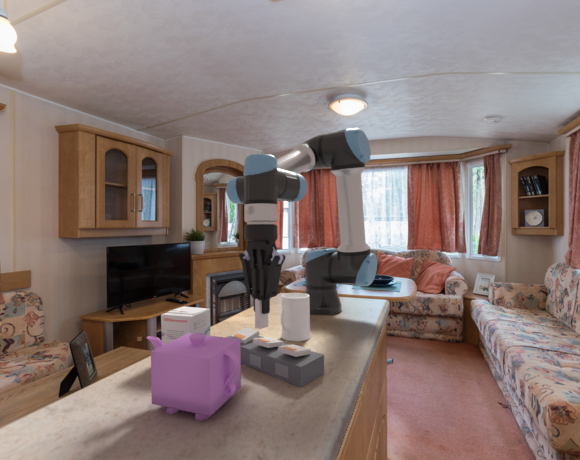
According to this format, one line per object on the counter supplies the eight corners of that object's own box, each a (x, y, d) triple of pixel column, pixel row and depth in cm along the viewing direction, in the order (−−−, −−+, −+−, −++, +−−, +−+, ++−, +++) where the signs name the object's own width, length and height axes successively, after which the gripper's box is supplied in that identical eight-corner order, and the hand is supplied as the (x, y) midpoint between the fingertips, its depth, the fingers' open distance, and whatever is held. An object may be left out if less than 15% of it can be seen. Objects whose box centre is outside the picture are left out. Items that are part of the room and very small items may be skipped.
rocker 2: (267, 341, 80) (268, 336, 80) (282, 345, 77) (283, 340, 77) (252, 342, 76) (253, 337, 77) (268, 347, 73) (268, 342, 73)
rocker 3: (292, 348, 75) (293, 343, 75) (310, 354, 72) (310, 348, 72) (277, 351, 71) (278, 345, 71) (295, 356, 68) (296, 350, 68)
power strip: (230, 341, 92) (230, 327, 92) (324, 373, 71) (324, 354, 71) (206, 350, 86) (205, 334, 86) (300, 387, 65) (300, 367, 65)
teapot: (253, 398, 62) (252, 330, 61) (224, 429, 52) (222, 350, 52) (166, 381, 68) (165, 321, 68) (126, 407, 59) (125, 337, 59)
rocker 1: (246, 330, 86) (245, 326, 85) (259, 334, 82) (258, 330, 82) (231, 339, 82) (230, 335, 82) (244, 343, 79) (243, 339, 78)
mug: (292, 347, 87) (292, 302, 87) (267, 341, 92) (267, 298, 92) (316, 335, 96) (315, 294, 96) (292, 330, 102) (292, 291, 101)
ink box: (212, 353, 84) (211, 307, 84) (191, 367, 76) (190, 316, 76) (183, 350, 86) (182, 305, 86) (160, 362, 78) (160, 313, 78)
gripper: (229, 223, 77) (230, 325, 77) (269, 222, 68) (270, 337, 68) (253, 224, 82) (254, 318, 82) (293, 223, 74) (294, 328, 74)
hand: (261, 327), depth 75 cm, fingers closed
